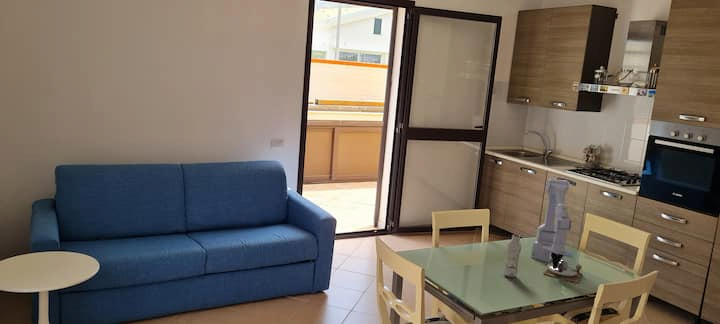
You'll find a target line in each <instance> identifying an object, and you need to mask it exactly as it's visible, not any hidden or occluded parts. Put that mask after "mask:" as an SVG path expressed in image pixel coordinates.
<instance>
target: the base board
mask: <svg viewBox="0 0 720 324" xmlns="http://www.w3.org/2000/svg"><path fill="white" fill-rule="evenodd" d="M582 268H583V266H582V265H581V264H579V263H578V264H576V265H575V269H576V270H577V275H576V276H575V277H563V276H558V275H555V274H553V273H551V272H549V271H548V270H547V268H546V269H545V271H544V272H543V275H544V276H548V277H551V278H554V279H558V280H561V281H565V282H569V283H573V284H577V285H578V284H579V282H580V280H581V278H582V276H583V272H580V271H581V270H582Z"/></svg>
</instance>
